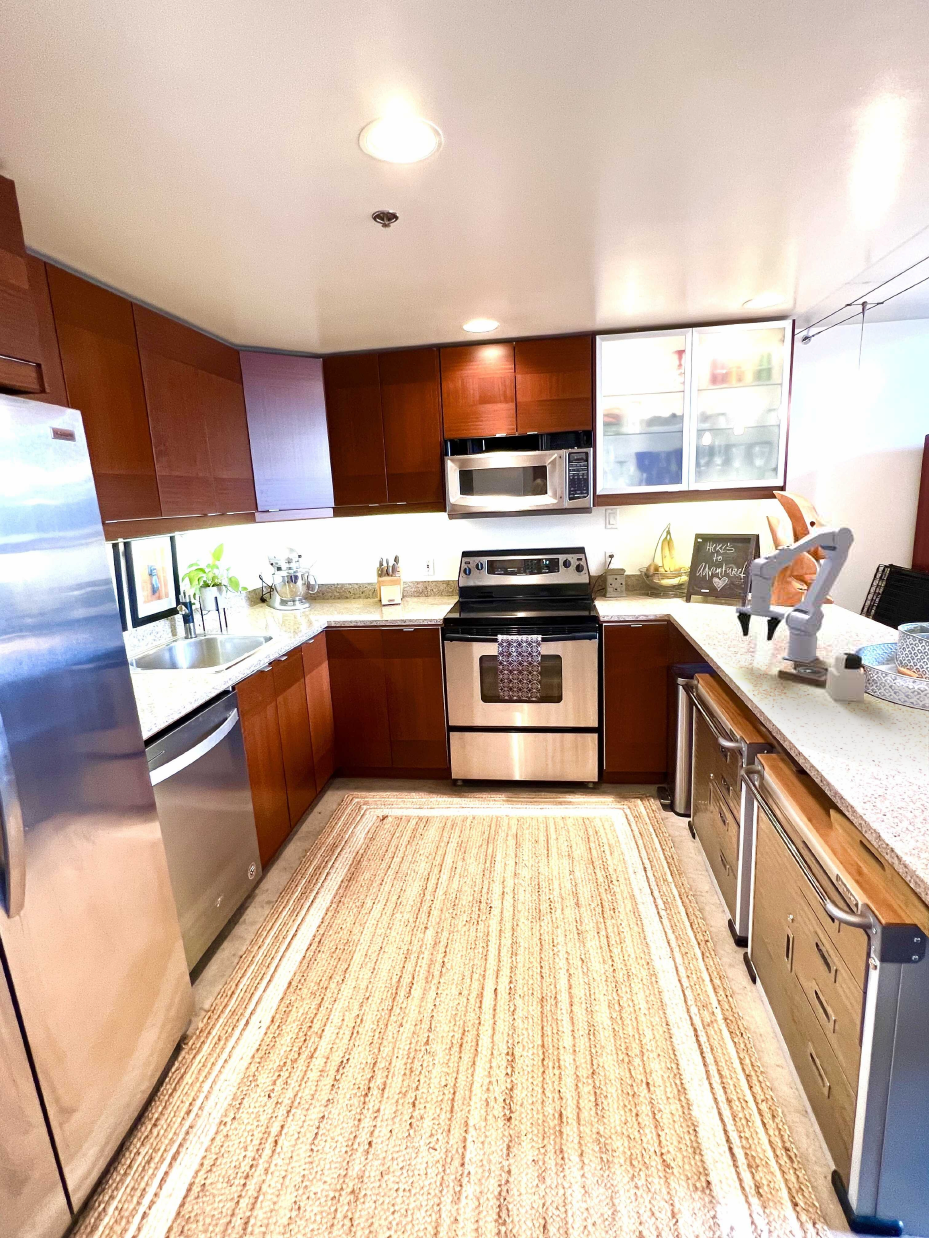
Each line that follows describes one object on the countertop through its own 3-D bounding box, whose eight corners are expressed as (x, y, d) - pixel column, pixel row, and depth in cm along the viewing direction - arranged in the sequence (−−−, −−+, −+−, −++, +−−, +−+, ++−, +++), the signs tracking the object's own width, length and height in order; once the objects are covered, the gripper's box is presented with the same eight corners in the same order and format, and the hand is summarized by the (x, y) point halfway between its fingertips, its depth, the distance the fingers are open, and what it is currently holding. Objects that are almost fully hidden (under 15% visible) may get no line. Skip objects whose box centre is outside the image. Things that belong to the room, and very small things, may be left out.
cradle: (795, 667, 183) (795, 661, 183) (838, 676, 174) (839, 670, 173) (777, 676, 175) (778, 670, 175) (822, 686, 166) (822, 680, 166)
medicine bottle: (853, 692, 161) (859, 651, 158) (863, 702, 154) (869, 659, 152) (825, 691, 163) (829, 650, 160) (833, 700, 156) (838, 657, 154)
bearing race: (803, 672, 180) (803, 664, 179) (831, 678, 173) (832, 670, 173) (791, 678, 175) (791, 670, 174) (819, 684, 169) (820, 676, 168)
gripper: (732, 595, 187) (729, 636, 191) (779, 601, 176) (775, 644, 180) (742, 592, 192) (739, 632, 195) (789, 598, 181) (785, 640, 184)
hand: (757, 637), depth 187 cm, fingers open, 7 cm apart
